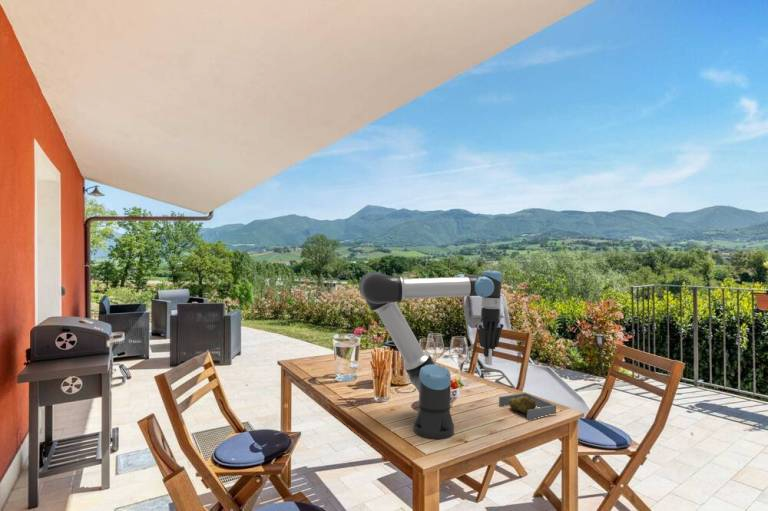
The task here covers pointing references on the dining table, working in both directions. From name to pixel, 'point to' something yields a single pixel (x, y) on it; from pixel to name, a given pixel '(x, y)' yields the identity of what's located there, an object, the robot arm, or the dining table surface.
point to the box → (544, 409)
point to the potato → (522, 404)
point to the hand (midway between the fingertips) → (488, 364)
